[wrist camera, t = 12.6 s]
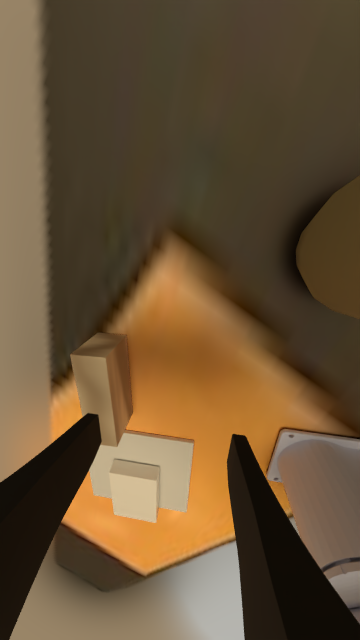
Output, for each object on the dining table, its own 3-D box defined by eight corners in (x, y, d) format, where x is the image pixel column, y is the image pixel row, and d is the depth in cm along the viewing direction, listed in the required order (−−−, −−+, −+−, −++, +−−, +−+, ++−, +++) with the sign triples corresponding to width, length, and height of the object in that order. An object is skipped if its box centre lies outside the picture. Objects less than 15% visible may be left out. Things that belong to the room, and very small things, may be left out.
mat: (193, 440, 23) (193, 443, 23) (186, 509, 28) (186, 512, 28) (83, 423, 25) (81, 426, 24) (95, 491, 30) (93, 495, 29)
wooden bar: (127, 334, 19) (105, 357, 15) (133, 410, 23) (117, 447, 19) (98, 331, 20) (70, 354, 16) (109, 407, 23) (88, 443, 19)
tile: (156, 480, 23) (156, 522, 26) (159, 465, 25) (159, 506, 28) (108, 472, 24) (114, 514, 27) (115, 458, 25) (119, 499, 29)
